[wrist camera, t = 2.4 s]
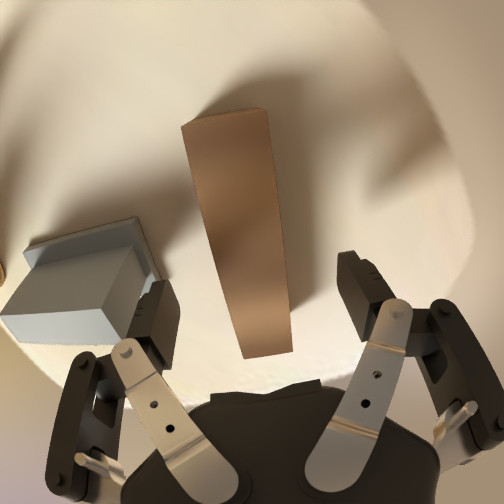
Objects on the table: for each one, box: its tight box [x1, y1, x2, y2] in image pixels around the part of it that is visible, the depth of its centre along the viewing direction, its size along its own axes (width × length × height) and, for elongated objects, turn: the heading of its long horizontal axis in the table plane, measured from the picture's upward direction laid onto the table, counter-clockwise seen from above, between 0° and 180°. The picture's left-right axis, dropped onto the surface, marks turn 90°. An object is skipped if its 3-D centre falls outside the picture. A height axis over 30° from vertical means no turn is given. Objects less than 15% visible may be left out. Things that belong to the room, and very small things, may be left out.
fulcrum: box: [0, 217, 161, 345], centre depth 13 cm, size 5×10×6 cm, turn 99°
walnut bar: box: [181, 108, 293, 359], centre depth 14 cm, size 14×3×4 cm, turn 9°
